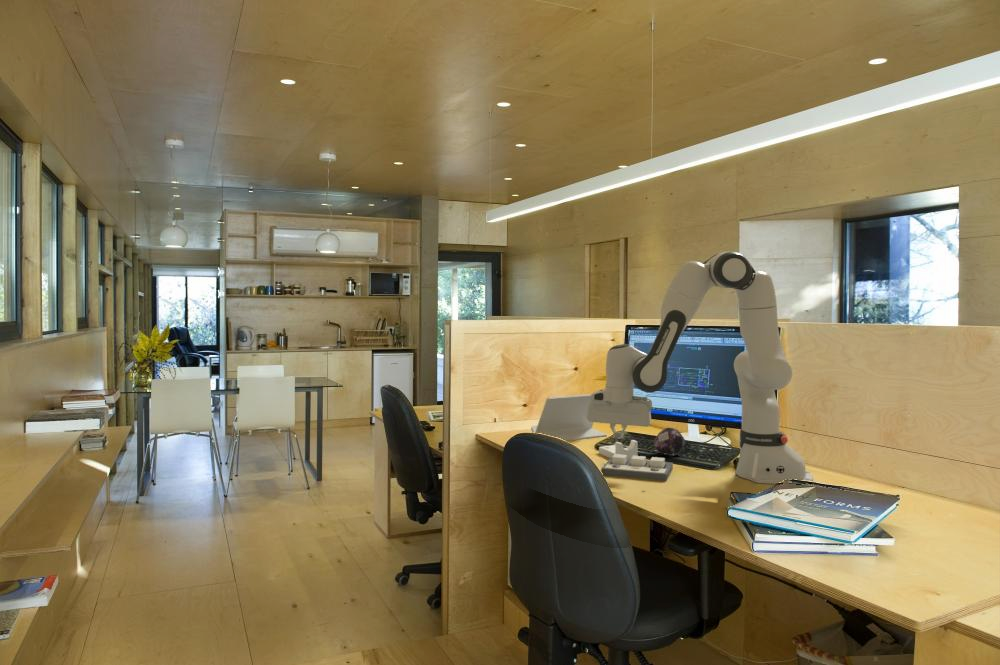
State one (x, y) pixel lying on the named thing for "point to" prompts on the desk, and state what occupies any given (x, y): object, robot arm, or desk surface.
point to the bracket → (620, 449)
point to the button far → (619, 459)
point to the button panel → (637, 470)
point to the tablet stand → (567, 418)
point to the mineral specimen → (669, 441)
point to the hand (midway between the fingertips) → (618, 437)
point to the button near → (657, 462)
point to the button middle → (638, 461)
